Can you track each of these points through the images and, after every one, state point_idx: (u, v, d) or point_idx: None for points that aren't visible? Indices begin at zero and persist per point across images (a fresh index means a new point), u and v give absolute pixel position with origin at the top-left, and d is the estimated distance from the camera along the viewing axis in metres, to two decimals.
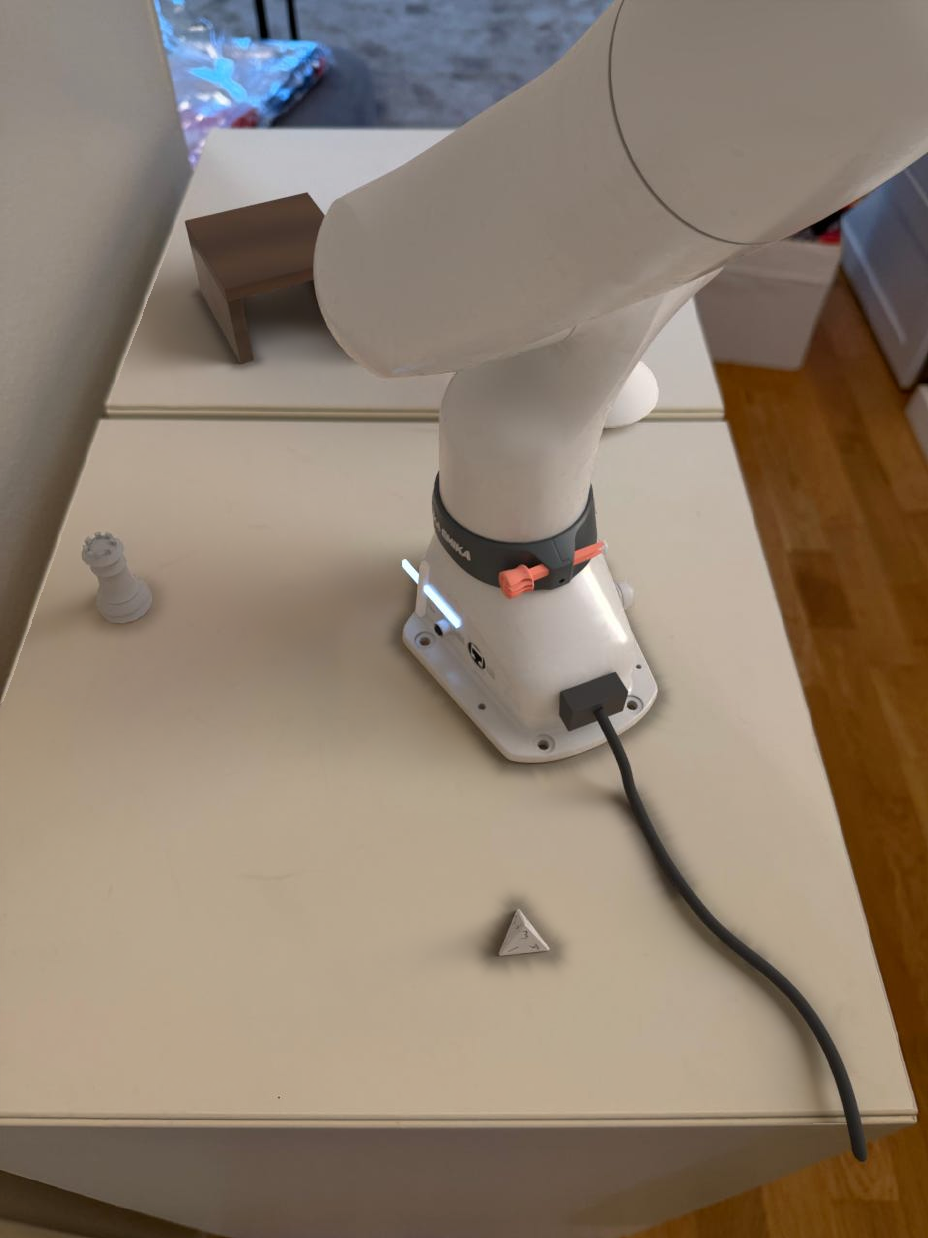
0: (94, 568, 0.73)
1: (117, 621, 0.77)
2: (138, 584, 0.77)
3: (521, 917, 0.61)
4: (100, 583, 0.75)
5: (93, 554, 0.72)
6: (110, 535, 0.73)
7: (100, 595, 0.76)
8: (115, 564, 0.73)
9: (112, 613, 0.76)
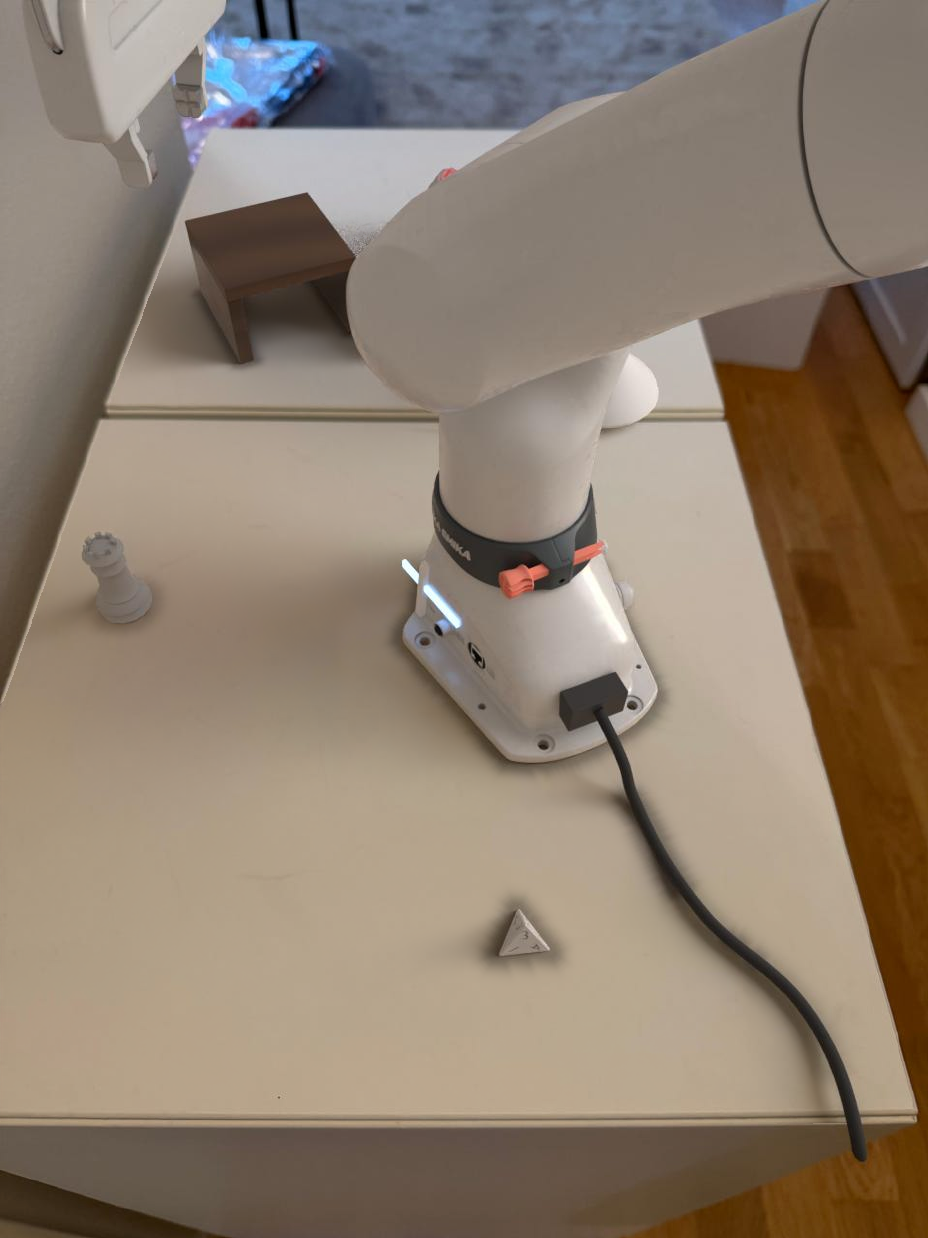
0: (94, 568, 0.73)
1: (117, 621, 0.77)
2: (138, 584, 0.77)
3: (521, 917, 0.61)
4: (100, 583, 0.75)
5: (93, 554, 0.72)
6: (110, 535, 0.73)
7: (100, 595, 0.76)
8: (115, 564, 0.73)
9: (112, 613, 0.76)
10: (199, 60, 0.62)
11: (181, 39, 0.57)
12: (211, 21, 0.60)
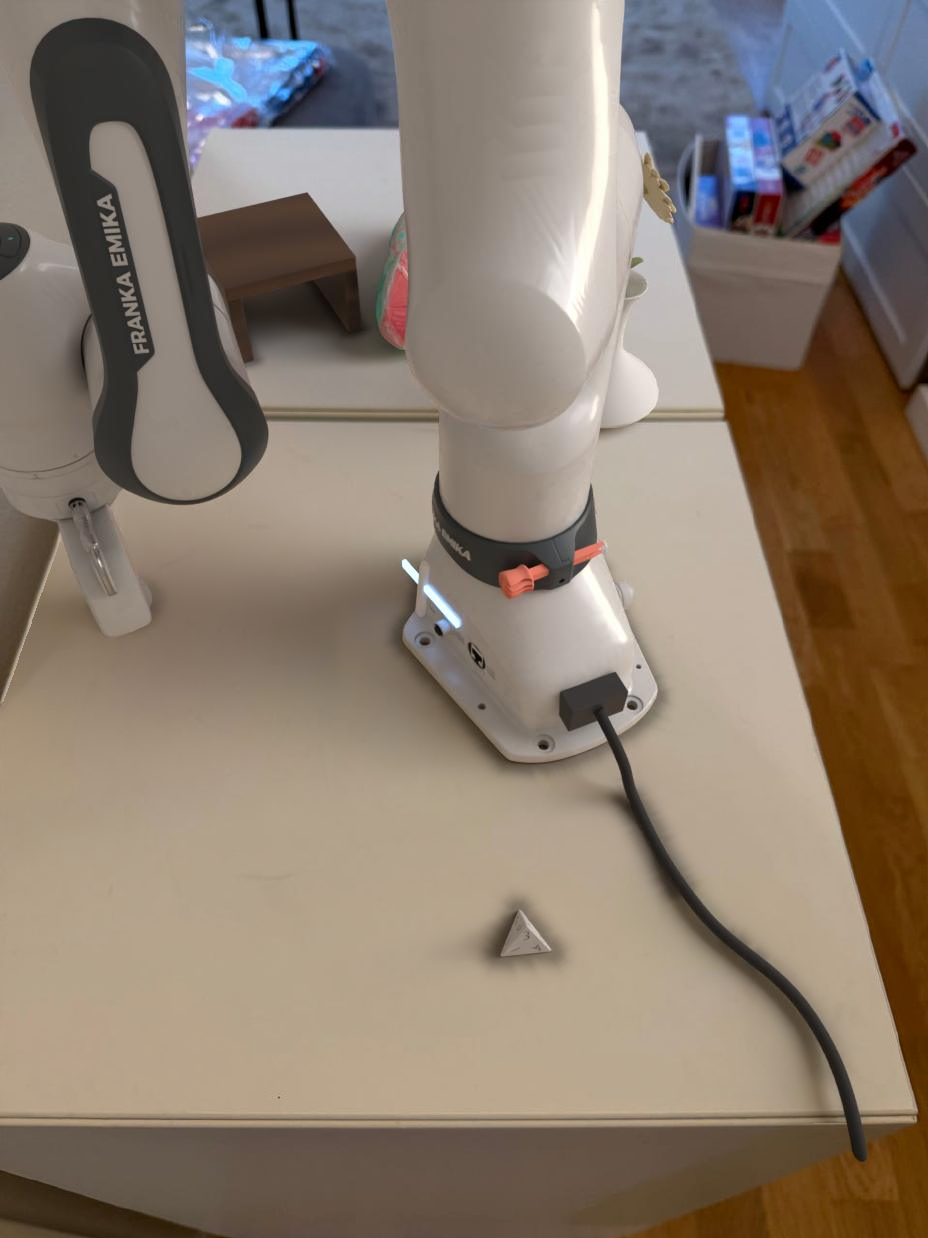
0: None
1: None
2: None
3: (523, 918, 0.61)
4: None
5: None
6: None
7: None
8: None
9: None
10: None
11: (114, 514, 0.73)
12: None
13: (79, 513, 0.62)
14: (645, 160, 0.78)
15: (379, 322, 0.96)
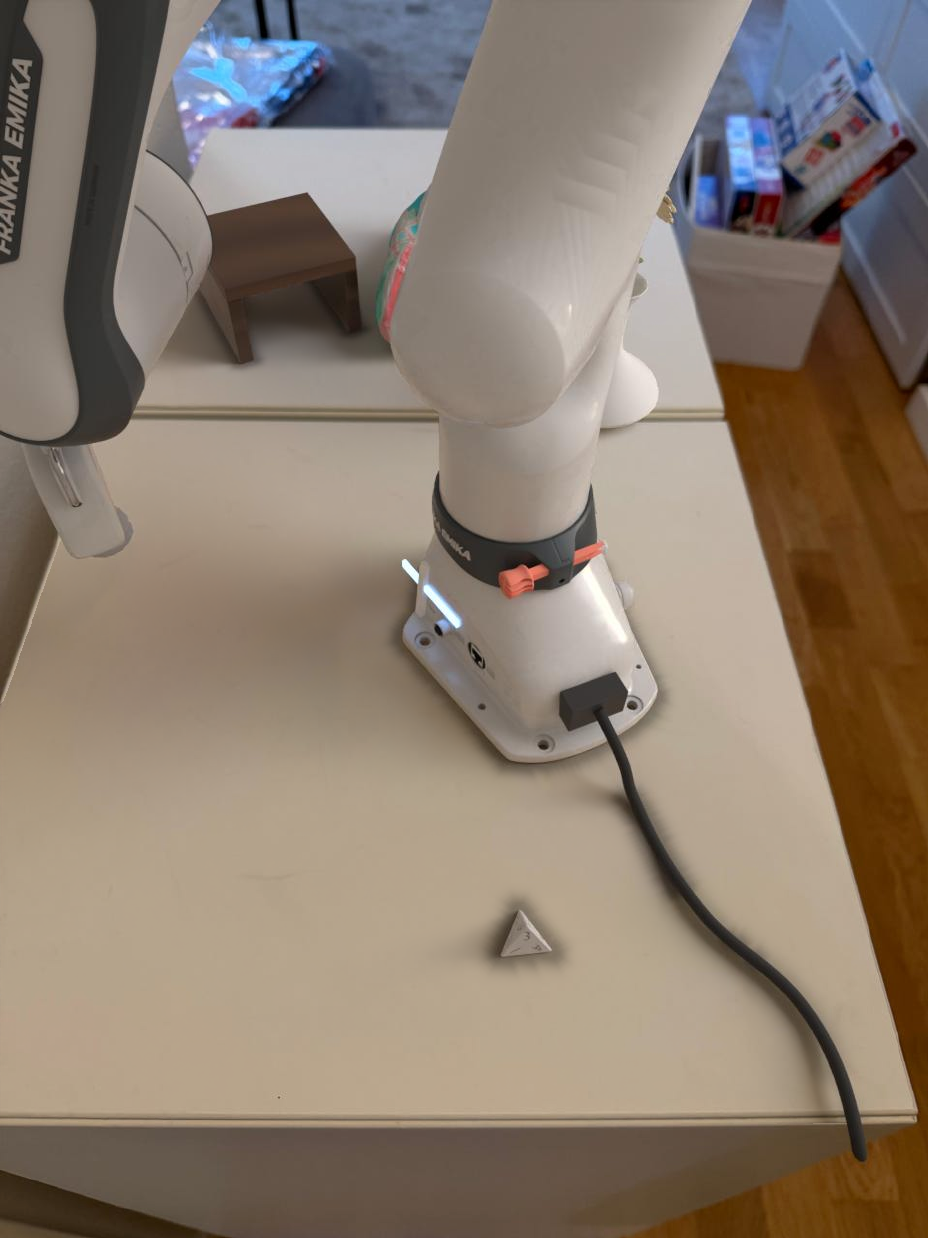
0: None
1: None
2: None
3: (523, 918, 0.61)
4: None
5: None
6: None
7: None
8: None
9: None
10: None
11: None
12: None
13: None
14: None
15: (379, 322, 0.96)
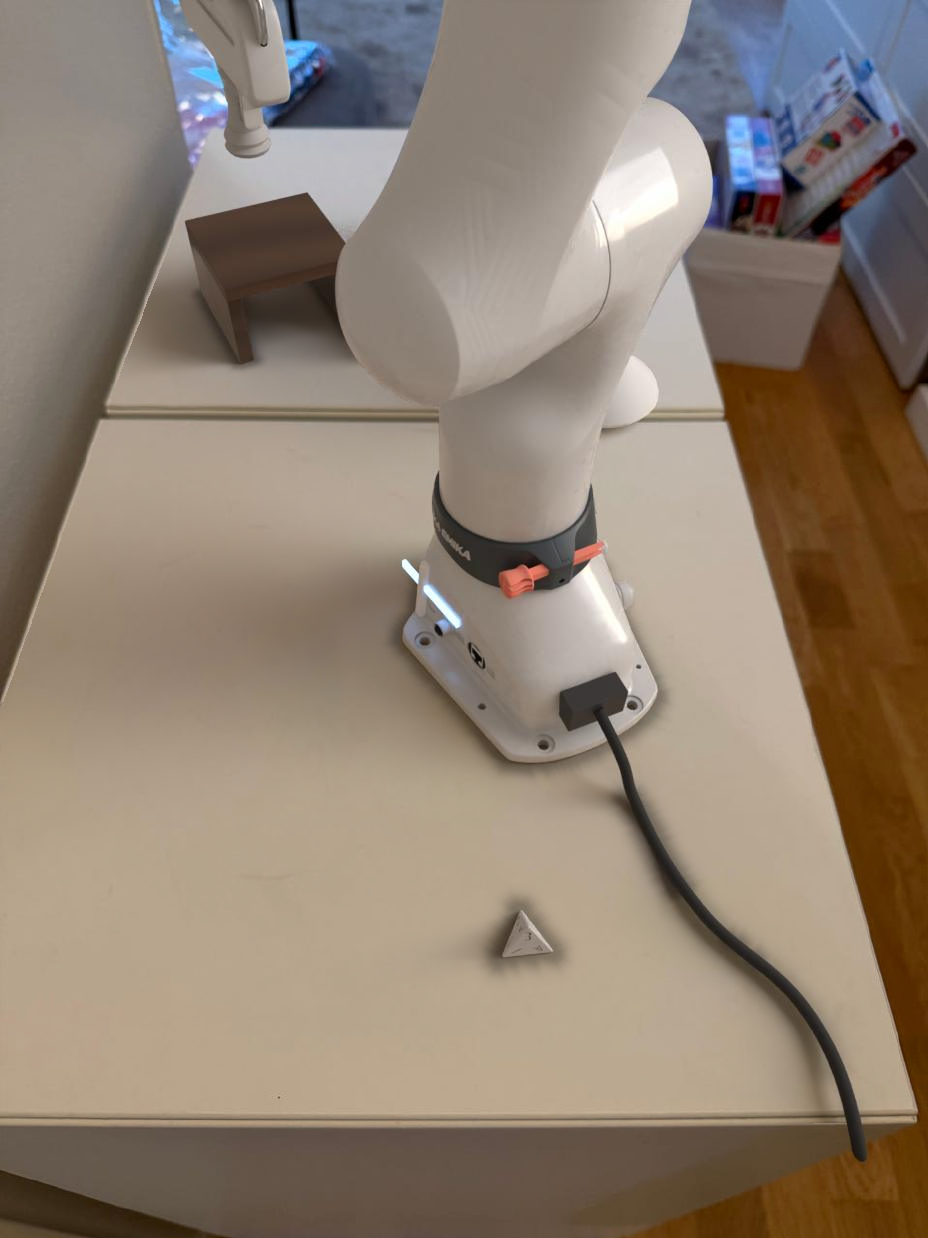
0: (228, 86, 0.83)
1: (242, 153, 0.87)
2: None
3: (524, 919, 0.61)
4: (231, 108, 0.85)
5: None
6: None
7: (229, 125, 0.86)
8: None
9: (239, 142, 0.86)
10: None
11: None
12: None
13: None
14: None
15: None
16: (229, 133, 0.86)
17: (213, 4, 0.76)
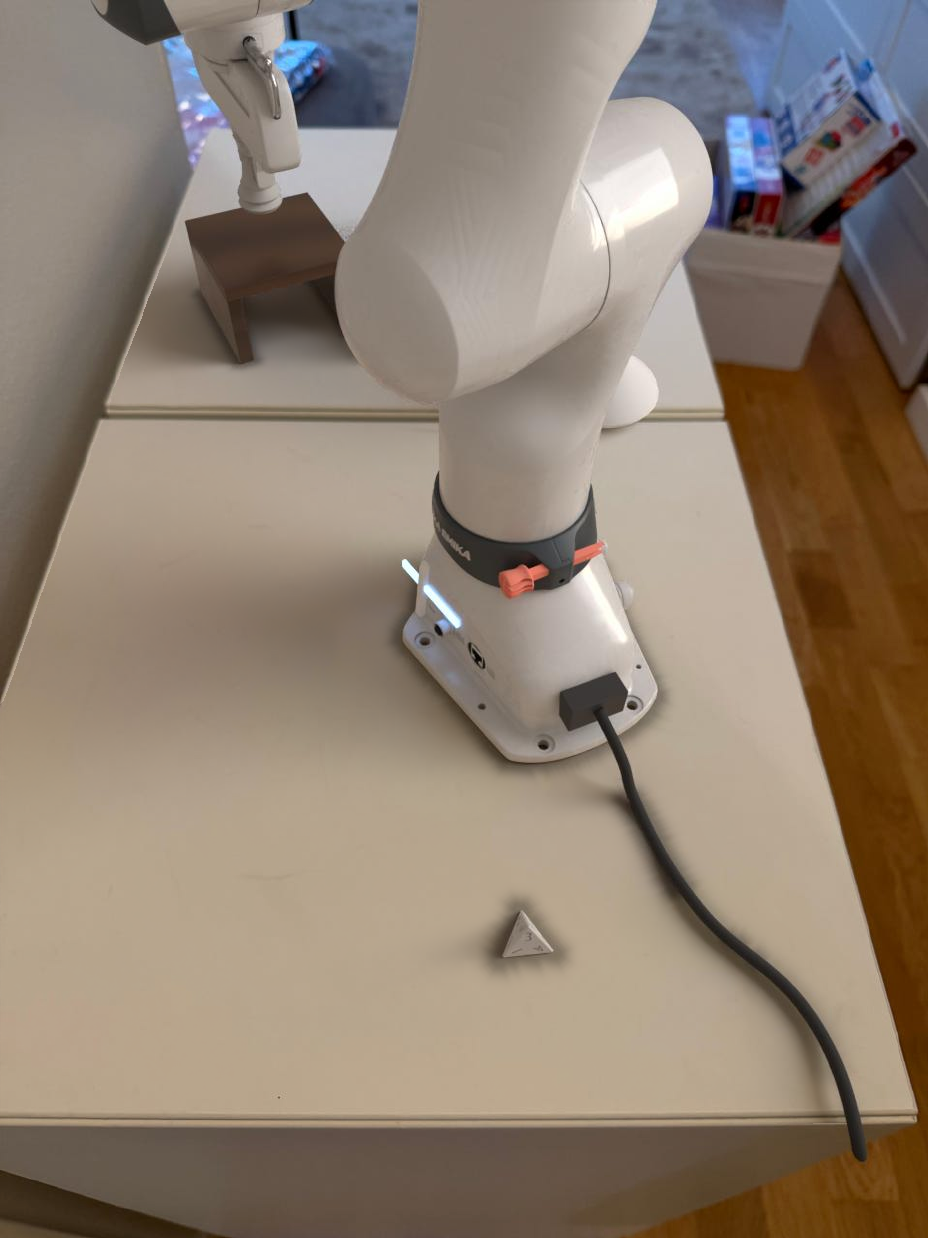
0: (242, 149, 0.89)
1: (255, 210, 0.92)
2: None
3: (525, 919, 0.61)
4: (244, 168, 0.90)
5: None
6: None
7: (242, 184, 0.91)
8: None
9: (252, 199, 0.91)
10: None
11: None
12: None
13: (253, 44, 0.77)
14: None
15: None
16: (243, 191, 0.91)
17: (229, 77, 0.81)
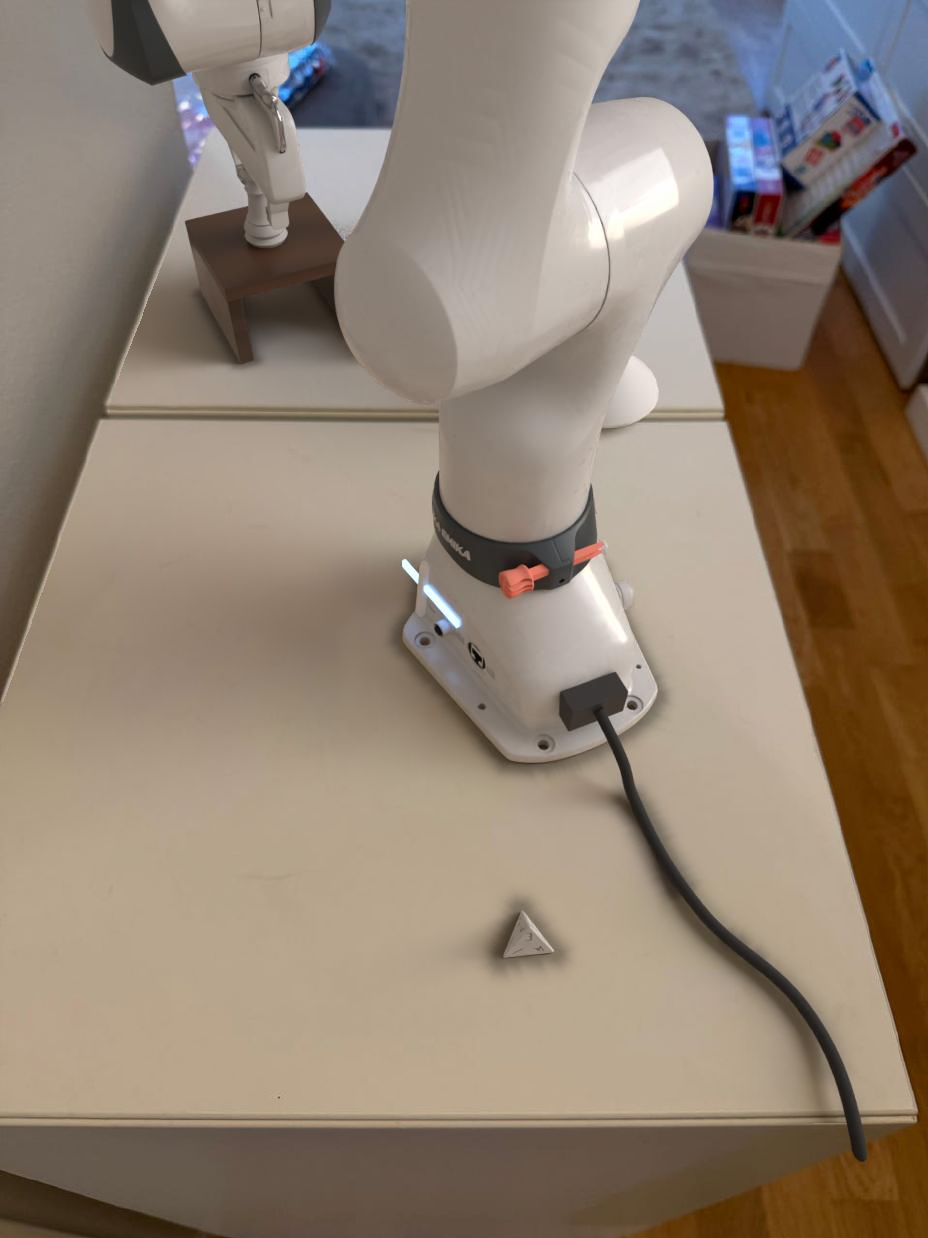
0: (248, 187, 0.91)
1: (261, 244, 0.95)
2: None
3: (525, 919, 0.61)
4: (251, 205, 0.93)
5: None
6: None
7: (249, 219, 0.94)
8: None
9: (258, 234, 0.94)
10: None
11: None
12: None
13: (259, 80, 0.80)
14: None
15: None
16: (249, 226, 0.94)
17: (235, 112, 0.84)
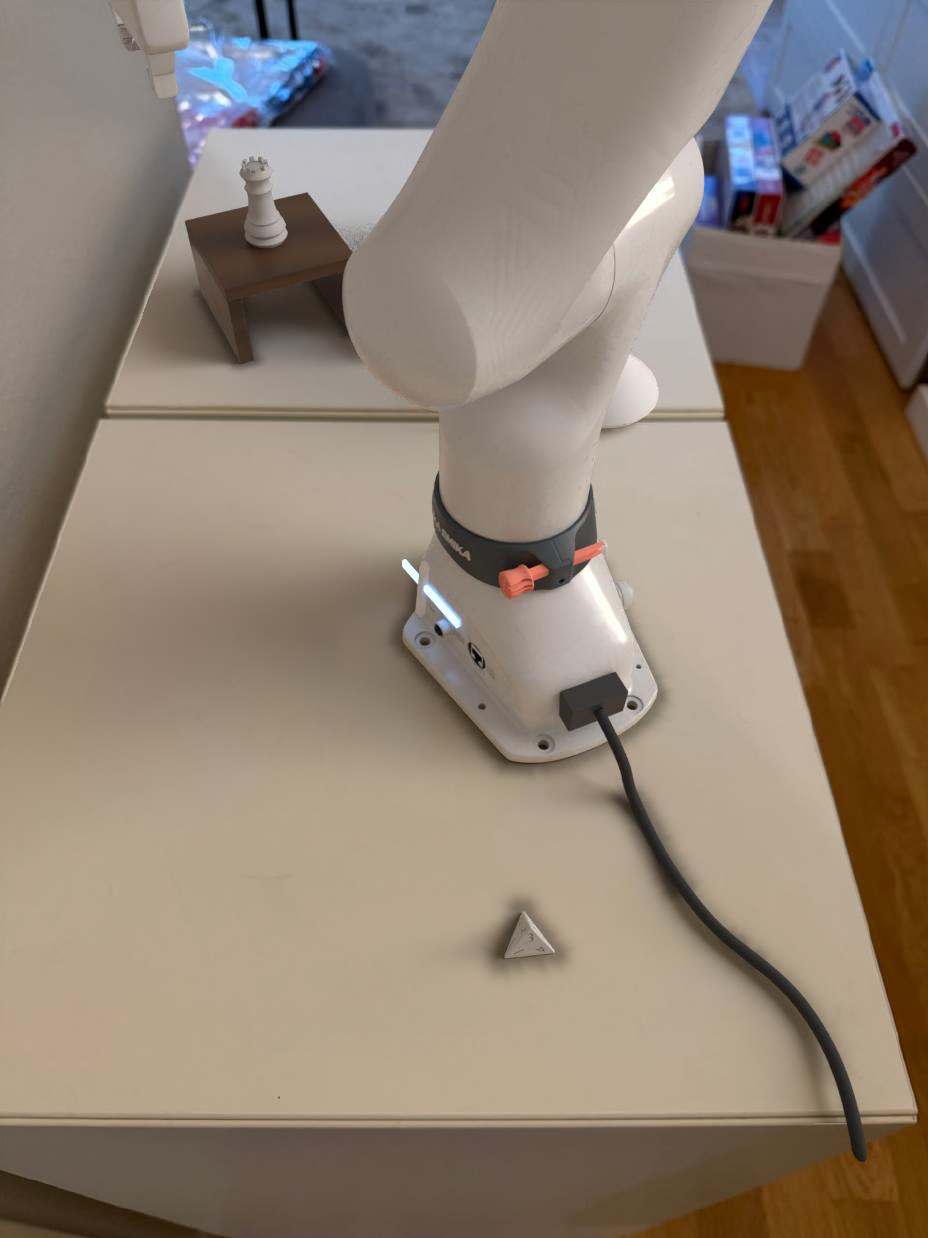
0: (248, 187, 0.91)
1: (261, 244, 0.95)
2: (278, 213, 0.95)
3: (527, 920, 0.61)
4: (251, 205, 0.93)
5: (250, 169, 0.90)
6: (262, 158, 0.91)
7: (249, 219, 0.94)
8: (265, 183, 0.91)
9: (258, 234, 0.94)
10: None
11: None
12: None
13: None
14: None
15: None
16: (249, 226, 0.94)
17: None
